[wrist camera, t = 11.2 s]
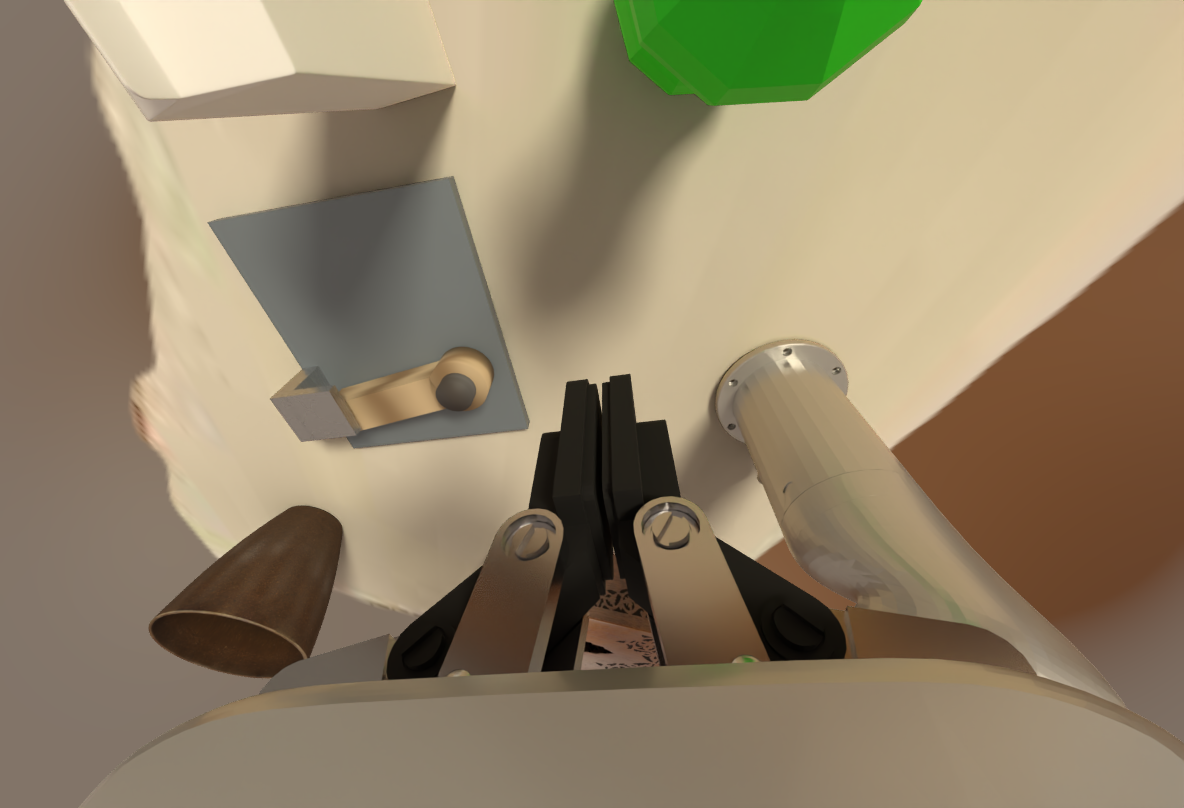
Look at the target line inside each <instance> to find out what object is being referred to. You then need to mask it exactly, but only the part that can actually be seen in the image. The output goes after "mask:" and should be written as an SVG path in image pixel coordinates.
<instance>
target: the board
mask: <svg viewBox="0 0 1184 808" xmlns="http://www.w3.org/2000/svg"><path fill="white" fill-rule="evenodd" d="M207 223H208V224H209V226H210V227H211V229H212V230H213V232H214V233H215V235H216V236H217V238H218V240H219V241H220V243H221V244H222V246H223V247H224V249H225V250H226V252H227V253H228V255H229V257H230V258H231V260H232V261H233V263H234V264H235V266H236V267H237V269H238V270H239V272H240V274H241V275H242V277H243V278H244V280H245V281H246V283H247V284H248V286H249V287H250V289H251V291H252V292H253V294H254V295H255V297H256V298H257V300H258V301H259V303H260V304H261V306H262V308H263V309H264V311H265V312H266V314H267V315H268V317H269V318H270V320H271V321H272V323H273V325H274V326H275V328H276V329H277V331H278V332H279V334H280V335H281V337H282V338H283V340H284V342H285V343H286V345H287V346H288V348H289V349H290V351H291V352H292V354H293V355H294V357H295V359H296V360H297V362H298V363H299V365H300V366H301V368H302V369H303V368H307V367H314V366H319V367H320V369H321V370H322V372H323V374H324V375H325V377H326V378H327V380H328V382H329V383H330V385H335V386H336V388H337V389H338V391H340V390H341V389H342V388H346V387H349V386H353V385H356V384H360V383H363V382H367V381H370V380H374V379H377V378H381V377H384V376H388V375H391V374H395V373H398V372H402V371H405V370H409V369H412V368H416V367H419V366H423V365H426V364H430V363H433V362H437V361H440V359H441V357H442V356H443V354H444V353H445V352H446V351H448V350H450V349H452V348H455V347H469V348H473V349H476V350H478V351H479V352H481V353H483V354H484V355H485V356H486V357H487V358H488V359H489V360H490V362H491V364H492V366H493V369H494V379H493V382H492V384H491V387H490V390H489V392H488V395H487V397H486V400H485V402H484V403H483V404H482V405H481V406H480V407H478V408H476V409H474V410H470V411H451V410H448V409H443V410H439V411H435V412H431V413H427V414H423V415H420V416H416V417H412V418H408V419H404V420H400V421H396V422H393V423H389V424H385V425H381V426H377V427H373V428H370V429H366V430H362V431H359V433H358V434H357V435H356V436H347V439H348V440H349V442H350V443H351V445H352V447H353V448H361V447H370V446H379V445H388V444H397V443H406V442H415V441H424V440H432V439H441V438H450V437H459V436H468V435H477V434H486V433H495V432H504V431H513V430H521V429H528V427H529V422H530V421H529V418H528V415H527V412H526V408H525V405H524V402H523V399H522V396H521V392H520V389H519V386H518V383H517V379H516V376H515V373H514V370H513V367H512V363H511V360H510V357H509V354H508V350H507V347H506V344H505V341H504V338H503V334H502V331H501V328H500V325H499V321H498V318H497V315H496V312H495V309H494V305H493V302H492V299H491V296H490V292H489V289H488V286H487V283H486V280H485V276H484V273H483V270H482V267H481V263H480V260H479V257H478V254H477V251H476V247H475V244H474V241H473V238H472V235H471V231H470V228H469V225H468V222H467V218H466V215H465V212H464V209H463V206H462V202H461V199H460V196H459V193H458V189H457V186H456V183H455V180H454V177H453V176H452V177H446V178H441V179H435V180H430V181H424V182H419V183H413V184H408V185H402V186H397V187H391V188H386V189H380V190H375V191H369V192H364V193H358V194H353V195H347V196H342V197H336V198H331V199H325V200H320V201H314V202H309V203H303V204H298V205H292V206H287V207H281V208H276V209H270V210H265V211H259V212H254V213H249V214H243V215H238V216H232V217H227V218H221V219H217V220H214V221H211V222H207Z"/></svg>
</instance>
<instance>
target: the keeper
mask: <svg viewBox="0 0 1184 808" xmlns="http://www.w3.org/2000/svg"><path fill="white" fill-rule="evenodd" d="M270 400H271V401H272V403H273V404H274V405H275V407H276V408H277V409H278V411H279V412H280V414H281V415H282V416H283V418H284V419H285V420H286V422H287V423H288V424H289V426H290V427H291V429H292V430H293V431H294V433H295V434H296V435H297V437H298V438H299V439H300V441H301V442H304V441H313V440H321V439H330V438H339V437H347V436H356V435H357V434H358V433H359V431H360V430H361V427H360V425H359V424H358V422H357V420H356V419H355V417H354V415H353V414H352V412H351V411H350V409H349V407H348V406H347V404H346V402H345V401H344V399H343V397H342V396H341V394H340V393H339V391H338V389H337V388H336V386H335V385H330V383H329V382H328V380H327V378H326V377H325V375H324V374H323V372H322V370H321V369H320V367H319V366H314V367H307V368H303V369H302V370H301V371H300V372H299V373H297V374H296V375H295V376H294V377H293V378H292V379H291V380H290V381H289V382H288V383H286V384H285V385H284V386H283V387H282V388H281V389H280V390H279V391H278V392H277V393H275V394H274V395H273V396H272V397H271V398H270Z"/></svg>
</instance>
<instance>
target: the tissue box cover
mask: <svg viewBox="0 0 1184 808" xmlns="http://www.w3.org/2000/svg"><path fill="white" fill-rule="evenodd" d="M613 563H614V579H613V580H606V595H600V600H599V601H598V602H597V603H596V604H595V605H594V606H593V607H592V608H591V609H590V610H589V625H588V631H587V636H586V642H585V648H584V654H583V660H582V665H581V670H593V669H614V668H635V667H656V666H659V663H658V659H657V654H656V650H655V646H654V642H653V638H652V634H651V629H650V625H649V621H648V617H647V612H646V611H645V610H644V609H643V608H641V607H640V606H639V605H638V604H637V603H635V602H634V601H633V600H632V599H631V598H630V597H629V595H628V590H627V585H626V580H625V579H620V575H619V570H618V566H617V561H616V556H615V555H613Z"/></svg>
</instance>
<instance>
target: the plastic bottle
mask: <svg viewBox="0 0 1184 808" xmlns="http://www.w3.org/2000/svg"><path fill="white" fill-rule="evenodd" d="M921 2H922V0H614V4H615V8H616V12H617V16H618V19H619V23H620V27H621V31H622V35H623V39H624V43H625V47H626V51H627V55H628V58H629V61H630V62H631V63H632V64H633V65H634V66H636V67H637V68H638V69H639V70H640V71H641V72H643V73H644V74H645V75H646V76H647V77H648V78H650V79H651V80H652V81H653V82H654V83H655V84H656V85H658V86H659V87H660V88H661V89H662V90H663V91H665V92H666V93H667V94H668V95H679V94H696V95H697V96H698V97H699V98H700V99H701V100H702V101H703V102H705V103H706V104H707V105H712V106H718V105H735V104H752V103H769V102H786V101H803V100H808V99H810V98H811V97H812V96H813V95H815V94H816V93H817V92H819V91H820V90H821V89H822V88H824V87H825V86H826V85H827V84H829V83H830V82H831V81H832V80H834V79H835V78H836V77H837V76H839V75H840V74H841V73H843V72H844V71H845V70H846V69H848V68H849V67H850V66H851V65H853V64H854V63H855V62H856V61H858V60H859V59H860V58H861V57H863V56H864V55H865V54H866V53H868V52H869V51H870V50H872V49H873V48H874V47H875V46H877V45H878V44H879V43H880V42H882V41H883V40H884V39H885V38H887V37H888V36H889V35H890V34H892V33H893V32H894V31H896V30H897V29H898V28H899V27H901V26H902V25H903V24H904V23H905V22H906V21H907V20H908V19H909V17H910V16H911V15H912V14H913V13H914V12H915V10H916V9H917V8H918V7H919V6H920V4H921Z"/></svg>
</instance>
